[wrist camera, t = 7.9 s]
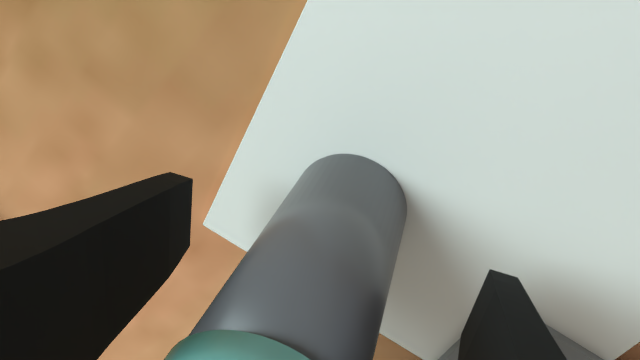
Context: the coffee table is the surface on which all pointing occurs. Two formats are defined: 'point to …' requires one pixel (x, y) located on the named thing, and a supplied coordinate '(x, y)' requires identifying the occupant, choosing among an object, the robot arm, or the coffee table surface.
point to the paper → (469, 153)
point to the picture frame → (574, 353)
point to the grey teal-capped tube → (311, 272)
